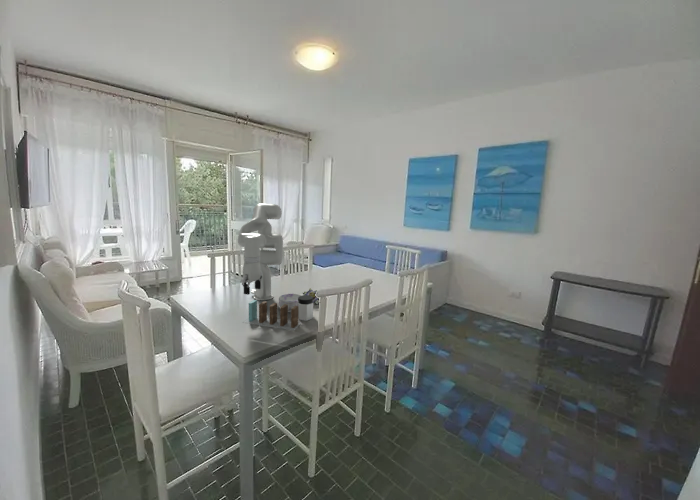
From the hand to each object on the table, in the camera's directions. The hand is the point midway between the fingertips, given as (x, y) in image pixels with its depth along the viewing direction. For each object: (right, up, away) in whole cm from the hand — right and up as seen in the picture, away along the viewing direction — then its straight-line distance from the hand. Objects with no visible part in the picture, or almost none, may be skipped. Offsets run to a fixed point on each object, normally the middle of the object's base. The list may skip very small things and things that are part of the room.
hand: (252, 291), depth 152 cm
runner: (+11, -17, 0) cm, 20 cm away
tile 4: (+17, -17, -1) cm, 24 cm away
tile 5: (+23, -18, -3) cm, 29 cm away
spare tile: (-1, -15, +3) cm, 16 cm away
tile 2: (+5, -16, +1) cm, 17 cm away
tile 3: (+11, -16, 0) cm, 20 cm away
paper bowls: (+17, -14, +20) cm, 30 cm away
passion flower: (+27, -13, +31) cm, 43 cm away
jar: (+26, -16, +9) cm, 32 cm away
